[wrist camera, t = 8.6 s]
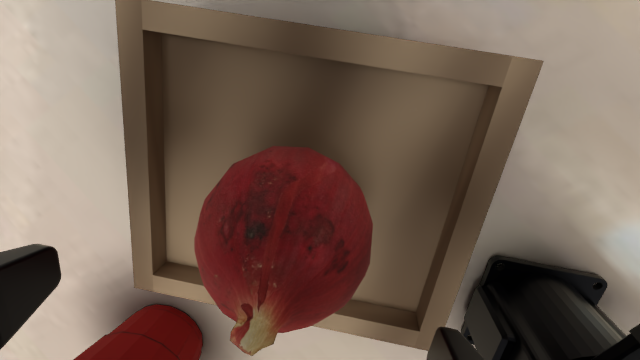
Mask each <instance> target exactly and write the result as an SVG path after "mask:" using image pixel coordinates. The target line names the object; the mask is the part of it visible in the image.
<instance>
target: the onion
mask: <svg viewBox="0 0 640 360" xmlns="http://www.w3.org/2000/svg"><path fill="white" fill-rule="evenodd" d="M372 232H373V222H372V219H371V216H370V213H369V209H368V206H367V203H366V200H365V197H364V194H363V192H362V190H361V188H360V186H359V185H358V184H357V183H356V182H355V181H354V179H353V178H352V177H351V176H350V175H349V174H348V173H347V171H346V170H345V169H344V168H343V167H342V166H341V164H340V163H338V162H336V161H334V160H332V159H330V158H328V157H326V156H324V155H322V154H320V153H318V152H316V151H315V150H313V149H311V148H309V147H287V146H272V147H270V148H268V149H265V150H263V151H261V152H259V153H256V154H254V155H252V156H249V157H247V158H245V159H243V160H240V161H238V162H236V163H233V164H232V165H231V167H230V168H229V169H228V170H227V172H226V173H225V174H224V176H223V177H222V178H221V179H220V181H219V182H218V183H217V184H216V186H215V187H214V188H213V189H212V191H211V192H210V193H209V194H208V196H207V197H206V198H205V200H204V203H203V206H202V209H201V212H200V216H199V221H198V225H197V230H196V234H195V238H194V251H195V255H196V259H197V264H198V268H199V272H200V276H201V279H202V282H203V285H204V287H205V288H206V290H207V291H208V293H209V294H210V296H211V297H212V299H213V300H214V302H215V303H216V304H217V306H218V307H219V309H220V310H221V311H222V312H223V313H224V314H225V315H227V316H228V317H230V318H231V319H233V320H234V321H236V324H235V326H234V327H233V329H232V331H231V336H230V341H231V342H232V343H234V344H235V345H236V346H237V347H238V348H240V349H241V350H242V351H243V352H244V353H246V354H248V355H251V356H253V355H254V354H255V353H257V352H258V351H259V350H261V349H262V348H265V347H267V346H270V345H272V344H274V341H275V338H276V335H277V333H285V332H289V331H293V330H297V329H302V328H306V327H309V326H312V325H314V324H316V323H318V322H320V321H322V320H323V319H325V318H327V317H328V316H330V315H332V314H333V313H335V312H336V311H338V310H339V309H341V308H342V307H344V306H345V305H346V303H347V302H348V301H349V300H350V299H351V298H352V296H353V295H354V293H355V291H356V290H357V288H358V286H359V285H360V283H361V282H362V280H363V278H364V277H365V275H366V272H367V270H368V267H369V265H370V257H371V244H372Z"/></svg>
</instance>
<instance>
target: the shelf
mask: <svg viewBox="0 0 640 360" xmlns="http://www.w3.org/2000/svg"><path fill="white" fill-rule="evenodd" d="M115 4H116V19H117V34H118V49H119V64H120V79H121V94H122V109H123V124H124V139H125V154H126V169H127V184H128V199H129V214H130V229H131V244H132V259H133V274H134V288H139V289H143V290H148V291H153V292H157V293H162V294H167V295H171V296H176V297H180V298H185V299H190V300H194V301H199V302H204V303H208V304H213V305H217V304H216V303H215V302H214V300H213V299H212V297H211V296H210V294H209V293H208V291H207V290H206V288H205V287H204V285H203V282H202V279H201V276H200V272H199V268H198V264H197V259H196V255H195V251H194V238H195V234H196V230H197V225H198V221H199V216H200V212H201V209H202V206H203V203H204V200H205V198H206V197H207V196H208V194H209V193H210V192H211V191H212V189H213V188H214V187H215V186H216V184H217V183H218V182H219V181H220V179H221V178H222V177H223V176H224V174H225V173H226V172H227V170H228V169H229V168H230V167H231V165H232V164H233V163H236V162H238V161H240V160H243V159H245V158H247V157H249V156H252V155H254V154H256V153H259V152H261V151H263V150H265V149H268V148H270V147H272V146H287V147H309V148H311V149H313V150H315V151H316V152H318V153H320V154H322V155H324V156H326V157H328V158H330V159H332V160H334V161H336V162H338V163H340V164H341V166H342V167H343V168H344V169H345V170H346V171H347V173H348V174H349V175H350V176H351V177H352V178H353V179H354V181H355V182H356V183H357V184H358V185H359V186H360V188H361V190H362V192H363V194H364V197H365V200H366V203H367V206H368V209H369V213H370V216H371V219H372V222H373V232H372V244H371V257H370V265H369V267H368V270H367V272H366V275H365V277H364V278H363V280H362V282H361V283H360V285H359V286H358V288H357V290H356V291H355V293H354V295H353V296H352V298H351V299H350V300H349V301H348V302H347V303H346V305H345V306H344V307H342V308H341V309H339V310H338V311H336V312H335V313H333V314H332V315H330V316H328V317H327V318H325V319H323V320H322V321H320V322H318V323H316V324H314V325H312V326H315V327H320V328H325V329H329V330H334V331H339V332H343V333H348V334H353V335H357V336H362V337H366V338H371V339H376V340H380V341H385V342H390V343H394V344H399V345H404V346H408V347H413V348H418V349H422V350H427V351H429V348H430V346H431V343H432V340H433V337H434V335H435V332H436V330H437V328H438V327H445V325H446V322H447V320H448V317H449V314H450V312H451V309H452V306H453V304H454V301H455V298H456V296H457V293H458V290H459V287H460V285H461V282H462V279H463V277H464V274H465V271H466V269H467V266H468V263H469V261H470V258H471V255H472V253H473V250H474V247H475V244H476V242H477V239H478V236H479V234H480V231H481V228H482V226H483V223H484V220H485V218H486V215H487V212H488V209H489V207H490V204H491V201H492V199H493V196H494V193H495V191H496V188H497V185H498V183H499V180H500V177H501V174H502V172H503V169H504V166H505V164H506V161H507V158H508V156H509V153H510V150H511V148H512V145H513V142H514V139H515V137H516V134H517V131H518V129H519V126H520V123H521V121H522V118H523V115H524V113H525V110H526V107H527V104H528V102H529V99H530V96H531V94H532V91H533V88H534V86H535V83H536V80H537V78H538V75H539V72H540V70H541V67H542V64H543V61H541V60H535V59H528V58H522V57H515V56H509V55H502V54H496V53H489V52H483V51H476V50H470V49H463V48H457V47H450V46H444V45H437V44H431V43H424V42H418V41H411V40H405V39H398V38H392V37H385V36H379V35H372V34H366V33H359V32H353V31H346V30H340V29H333V28H327V27H320V26H314V25H307V24H301V23H294V22H288V21H281V20H275V19H268V18H261V17H255V16H248V15H242V14H235V13H229V12H222V11H216V10H209V9H203V8H196V7H190V6H183V5H177V4H170V3H164V2H157V1H151V0H115Z"/></svg>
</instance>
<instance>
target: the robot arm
mask: <svg viewBox="0 0 640 360" xmlns="http://www.w3.org/2000/svg"><path fill="white" fill-rule="evenodd" d="M499 263H502V265H501V266H499V267H496V265H497V264H499ZM60 279H61V270H60V264H59V258H58V253H57V250H56V249H55V248H53V247H51V246H46V245H42V244H32V245H28V246H24V247H20V248H16V249H12V250H8V251H3V252H0V349H1V348H2V347H3V346H4V345H5V344H6V343H7V342H8V341H9V340H10V339H11V338H12V337H13V335H14V334H15V333H16V332H17V331H18V330H19V329H20V328H21V326H22V325H23V324H24V323H25V322H26V321H27V320H28V319H29V317H30V316H31V315H32V314H33V313H34V312H35V311H36V309H37V308H38V307H39V306H40V305H41V304H42V303H43V302H44V300H45V299H46V298H47V297H48V296H49V295H50V294H51V293H52V291H53V290H54V289H55V288H56V287H57V286H58V284H59V282H60ZM594 283H597V284H595V285H593V284H594ZM606 288H607V282H606V281H605V280H604V279H603V278H602V277H601V276H599V275H596V274H591V273H586V272H581V271H575V270H570V269H565V268H560V267H555V266H550V265H544V264H539V263H534V262H529V261H524V260H519V259H513V258H508V257H503V256H495V257H493V258H491V259H490V261H489V263H488V265H487V268H486V270H485V273H484V275H483V278H482V280H481V283H480V285H479V286H478V287H477V288H476V289H475V291H474V294H473V296H472V299H471V302H470V304H469V307H468V309H467V312H466V314H465V317H464V320H465V323H464V326H463V328H462V331H461V333H460V332H459V331H458V330H456V329H451V328H446V327H438V328H437V330H436V332H435V335H434V337H433V340H432V343H431V346H430V348H429V351H428V355H427V360H640V324H639V325H637V326H636V327H634V328H633V329H631V330H630V331H629V332H630V333H631V334H629V335H628V336H626V335H625V334H624V333H623V332H622V331H621V330H620V329H619V328H618V327H617V326H616V325H615V324H614V323H613V322H612V321H611V320H610V319H609V318H608V317H607V316H606V315H605V314H604V312H603V311H602V310H601V309H600V308H599V307H598V306H597V304H598V302H599V300H600V298H601V297H602V295H603V293H604V291H605V290H606ZM468 335H471V336H468ZM471 344H473V345H475V347H476V349H477V350H476V349H475V348H474V347H473V346H472V345H471Z"/></svg>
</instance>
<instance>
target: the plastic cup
mask: <svg viewBox="0 0 640 360" xmlns="http://www.w3.org/2000/svg"><path fill="white" fill-rule="evenodd" d="M202 346H203V342H202V333H201V331H200V330H199V328H198V326H197V324H196V323H195V322H194V321H193V320H192V319H191V318H190V317H189V316H188V315H187V314H186V313H184V312H182V311H180V310H178V309H176V308H174V307H172V306H166V305H159V304H156V305H151V306H147V307H144V308H143V309H142V310H140V311H137V312H136V313H134V314H133V315H132V316H131V317H130V318H128V319H127V320H126V321H125V322H123V323H122V324H121V325H120V326H118V327H117V328H116V329H115V330H113V331H112V332H111V333H110V334H108V335H105V336H103V337H102V338H101V339H100V340H98V341H97V342H96V343H94V344H93V345H92V346H91V347H89V348H88V349H87V350H85V351H84V352H83V353H81V354H80V355H79V356H78V357H76V358H75V359H74V360H199V358H200V355H201V348H202Z"/></svg>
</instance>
